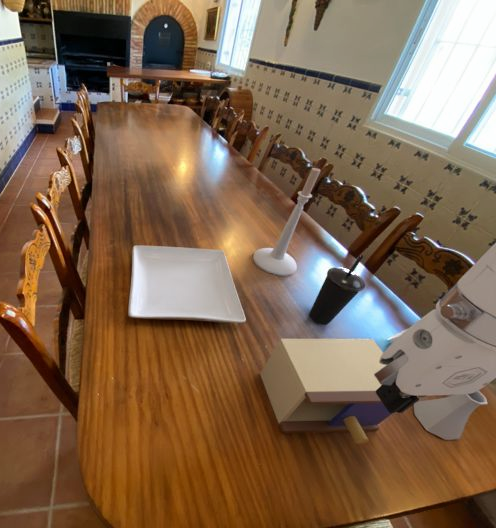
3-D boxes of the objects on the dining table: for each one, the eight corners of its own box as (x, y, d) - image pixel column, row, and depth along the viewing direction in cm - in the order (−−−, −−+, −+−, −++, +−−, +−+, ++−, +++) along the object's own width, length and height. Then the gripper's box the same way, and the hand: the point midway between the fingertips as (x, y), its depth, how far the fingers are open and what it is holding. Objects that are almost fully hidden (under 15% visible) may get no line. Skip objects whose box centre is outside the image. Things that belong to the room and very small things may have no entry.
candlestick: (289, 252, 96) (333, 160, 77) (301, 278, 86) (355, 181, 67) (249, 247, 97) (283, 155, 77) (257, 273, 87) (298, 175, 68)
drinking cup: (311, 329, 72) (354, 267, 59) (298, 306, 77) (334, 244, 65) (341, 330, 72) (390, 268, 59) (326, 306, 78) (367, 245, 65)
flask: (422, 434, 54) (463, 410, 48) (405, 397, 60) (440, 370, 53) (466, 446, 53) (515, 422, 47) (445, 407, 59) (486, 381, 52)
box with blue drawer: (376, 431, 54) (419, 400, 46) (282, 433, 53) (311, 402, 45) (341, 372, 63) (372, 338, 55) (259, 373, 62) (280, 338, 54)
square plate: (132, 254, 90) (132, 243, 87) (221, 259, 91) (224, 249, 88) (127, 325, 69) (127, 314, 66) (243, 331, 70) (248, 320, 67)
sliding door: (391, 447, 51) (428, 423, 45) (340, 448, 50) (371, 425, 44) (375, 421, 54) (408, 396, 48) (327, 422, 53) (355, 397, 47)
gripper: (455, 347, 27) (353, 432, 38) (600, 345, 28) (459, 429, 39) (395, 289, 33) (323, 378, 44) (518, 290, 34) (416, 376, 45)
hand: (387, 402), depth 42 cm, fingers closed
